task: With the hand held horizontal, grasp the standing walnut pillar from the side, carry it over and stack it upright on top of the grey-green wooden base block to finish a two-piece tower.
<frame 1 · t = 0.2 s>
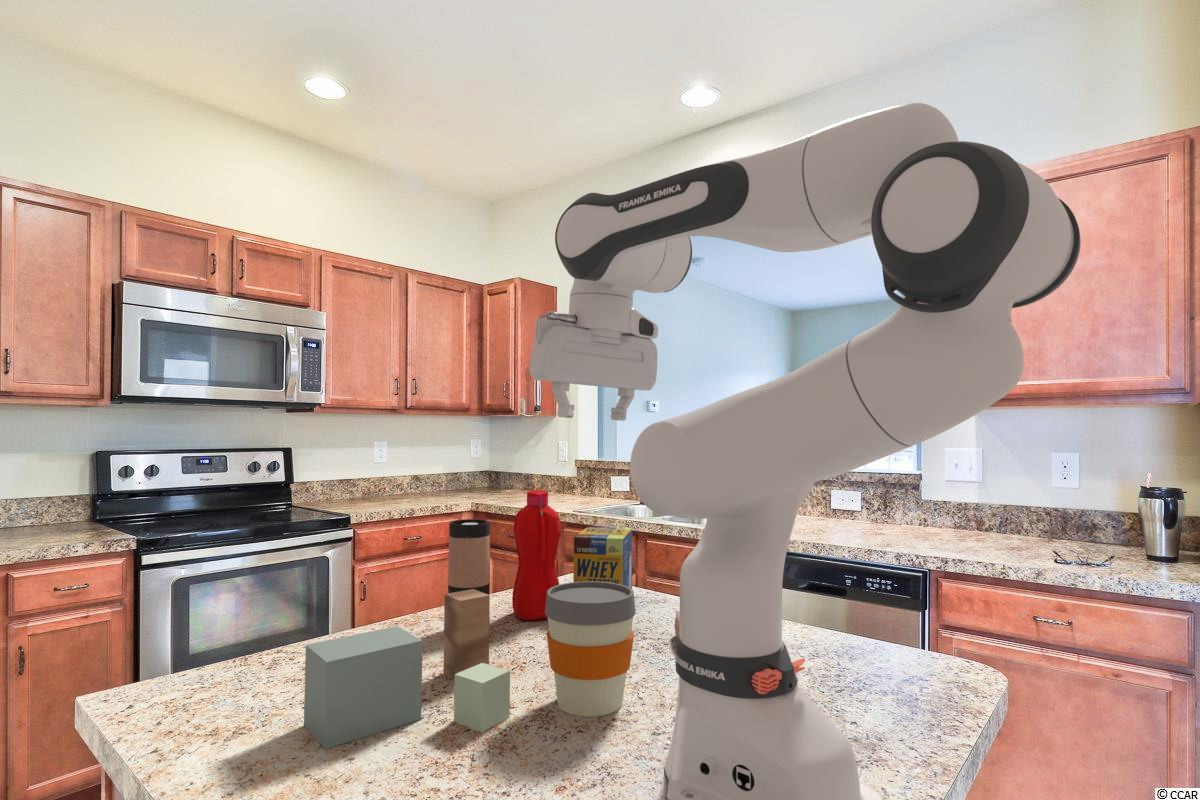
hand: (592, 419, 89), 39 cm above the countertop, fingers open, 8 cm apart
travel mug: (468, 631, 120), on the countertop
pillar: (466, 674, 98), on the countertop
brick: (723, 645, 113), on the countertop
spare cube: (481, 719, 83), on the countertop
water bottle: (537, 617, 129), on the countertop
protein box: (604, 605, 138), on the countertop
reusable coffee cup: (590, 703, 88), on the countertop
base block: (363, 722, 82), on the countertop
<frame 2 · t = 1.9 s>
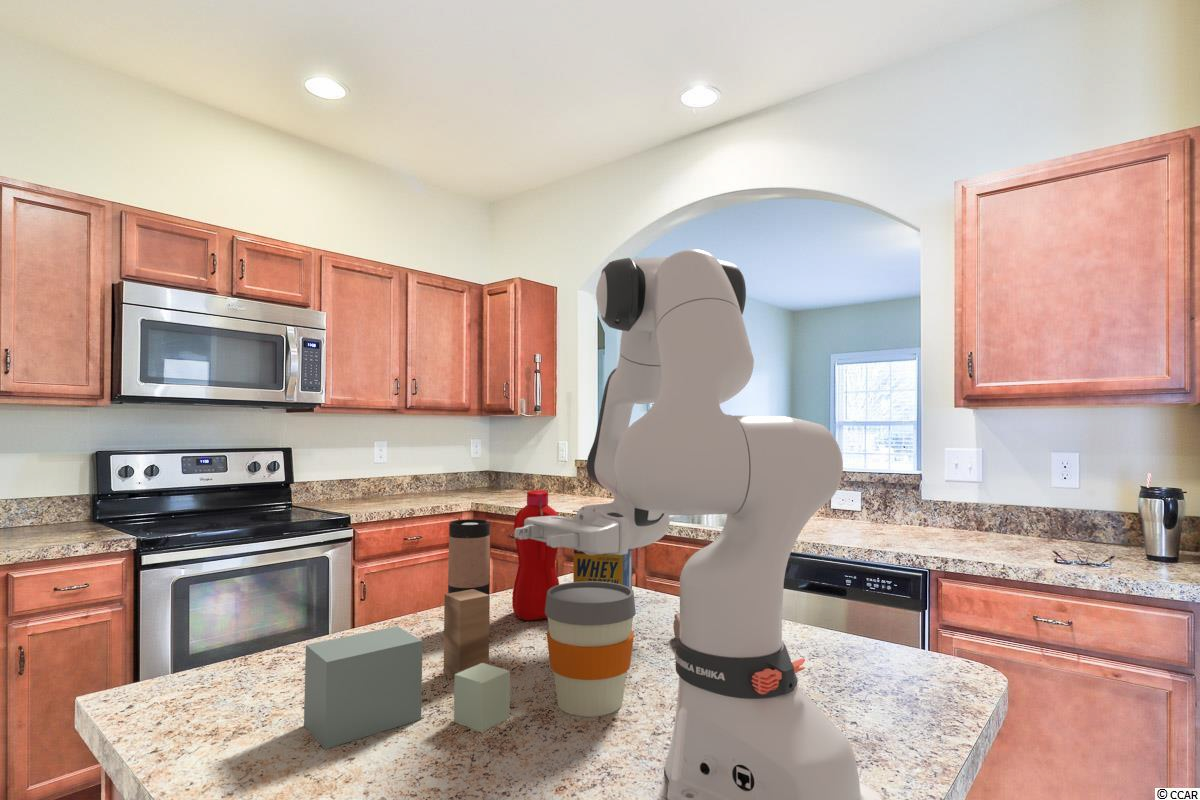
hand: (532, 537, 107), 19 cm above the countertop, fingers open, 8 cm apart
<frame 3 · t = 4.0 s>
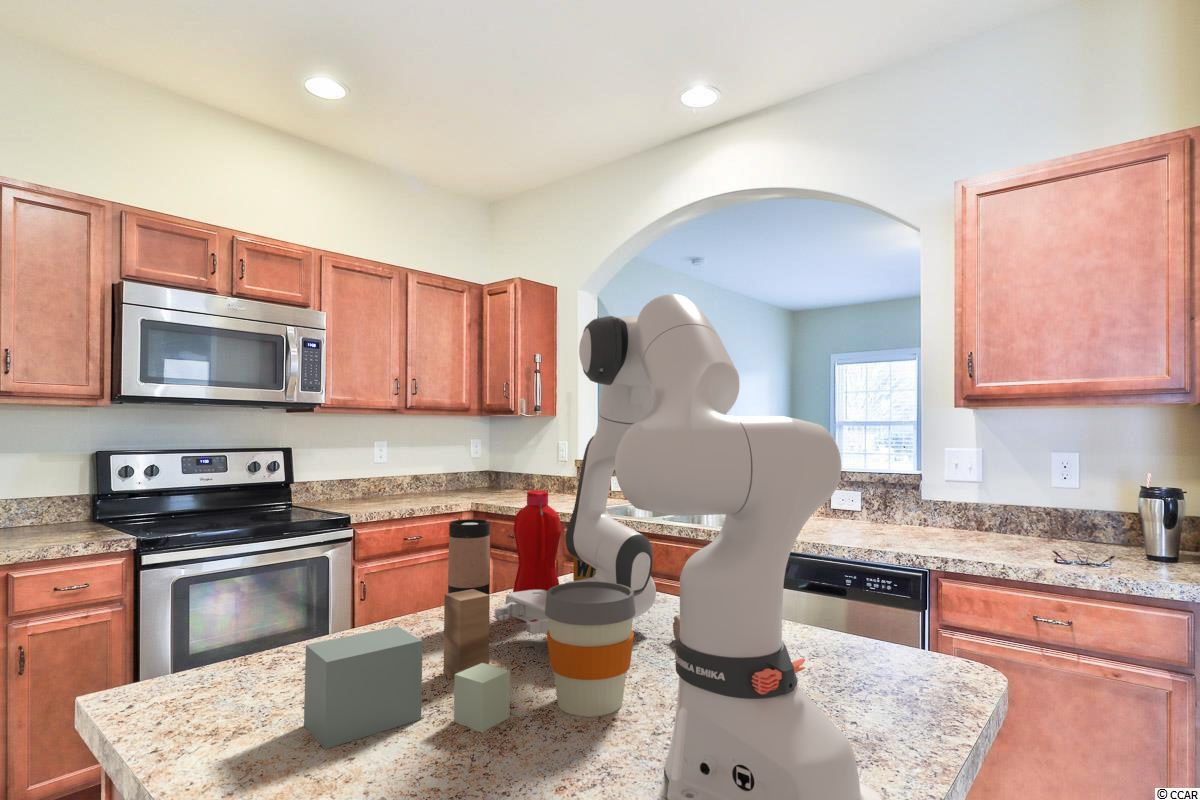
hand: (512, 621, 104), 6 cm above the countertop, fingers open, 8 cm apart
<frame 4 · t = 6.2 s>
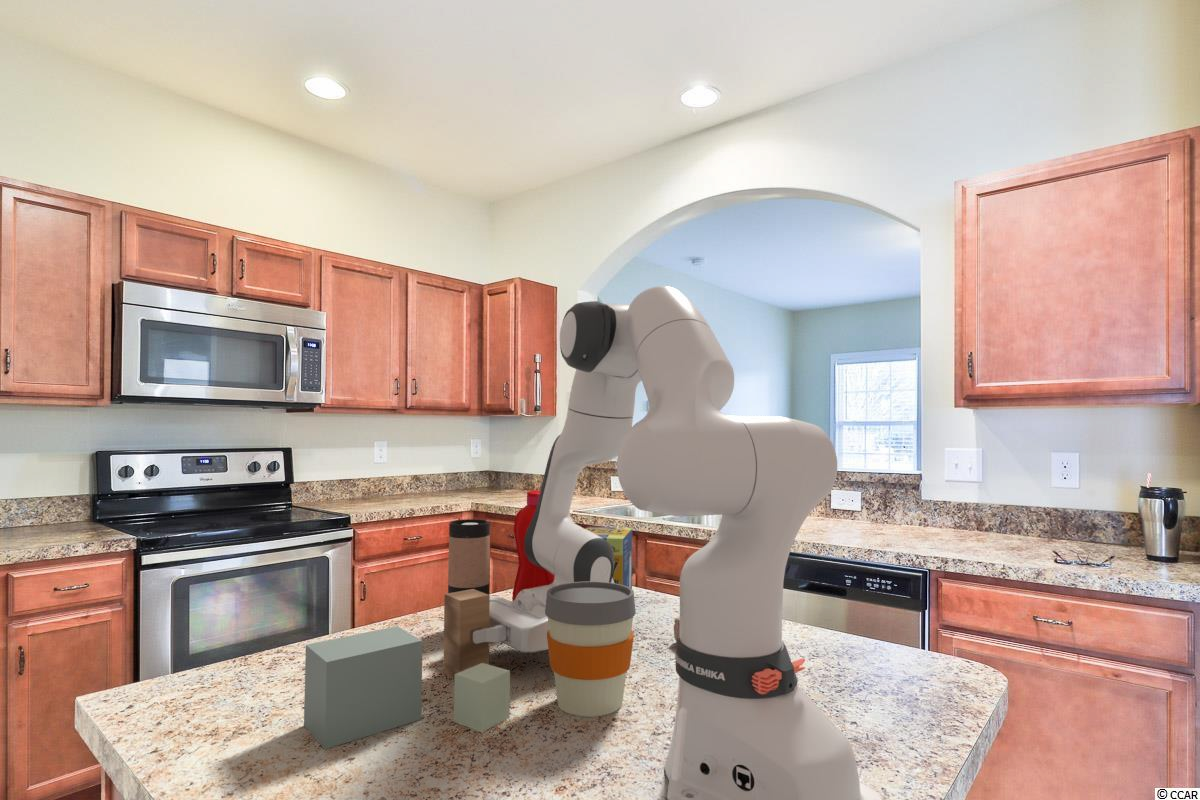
hand: (461, 631, 98), 7 cm above the countertop, fingers closed on pillar, 5 cm apart
pillar: (466, 674, 98), on the countertop, touching gripper
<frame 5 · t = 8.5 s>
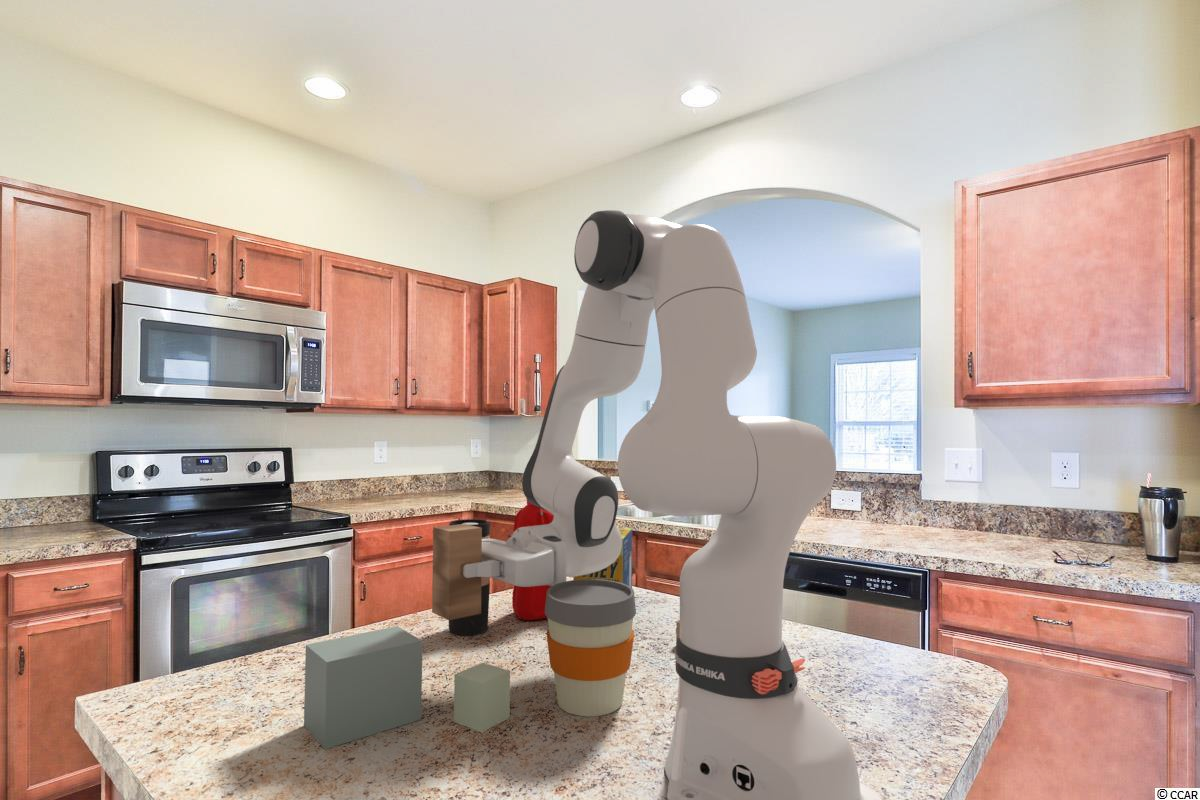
hand: (451, 567, 91), 18 cm above the countertop, fingers closed on pillar, 5 cm apart
pillar: (456, 613, 91), point 11 cm above the countertop, touching gripper
reusable coffee cup: (590, 701, 88), on the countertop, touching arm
when the fingers open (18 cm above the countertop, at t = 11.3 s): pillar drops 1 cm, resting on base block.
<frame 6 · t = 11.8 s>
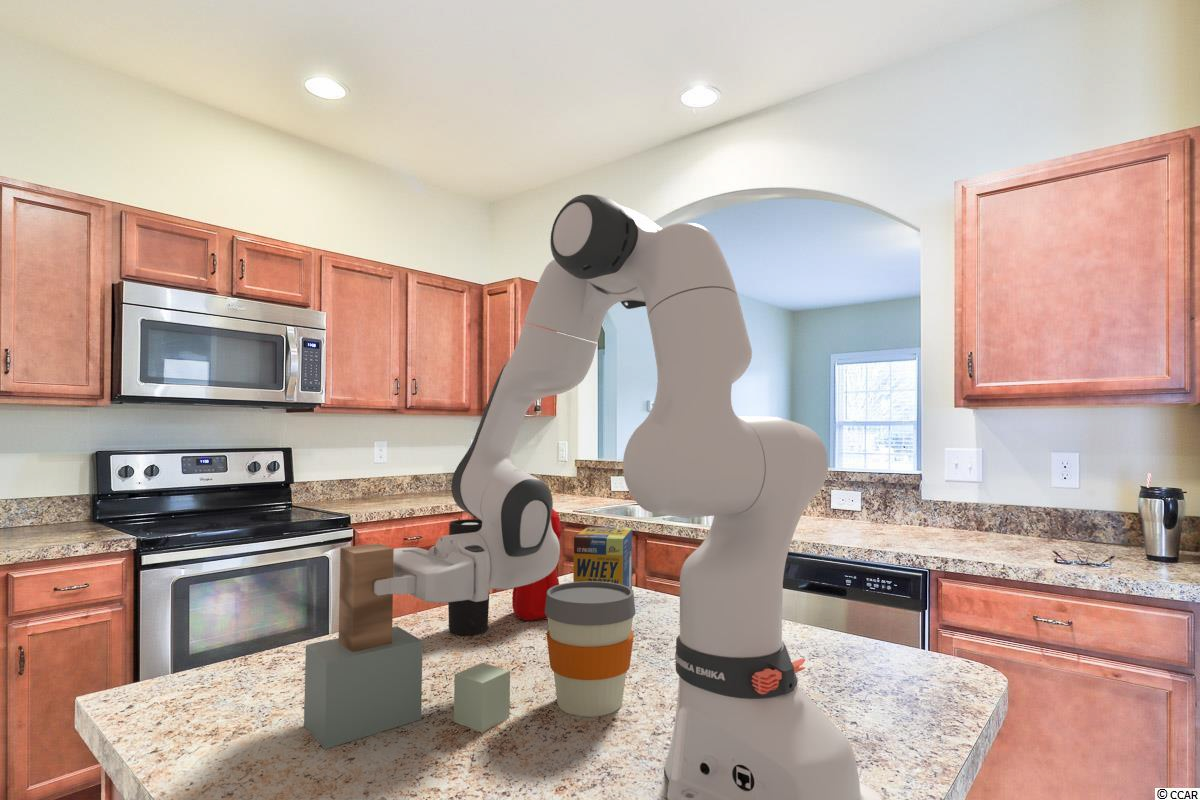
hand: (359, 580, 82), 18 cm above the countertop, fingers open, 8 cm apart
pillar: (365, 642, 82), point 10 cm above the countertop, touching base block
reusable coffee cup: (589, 703, 88), on the countertop
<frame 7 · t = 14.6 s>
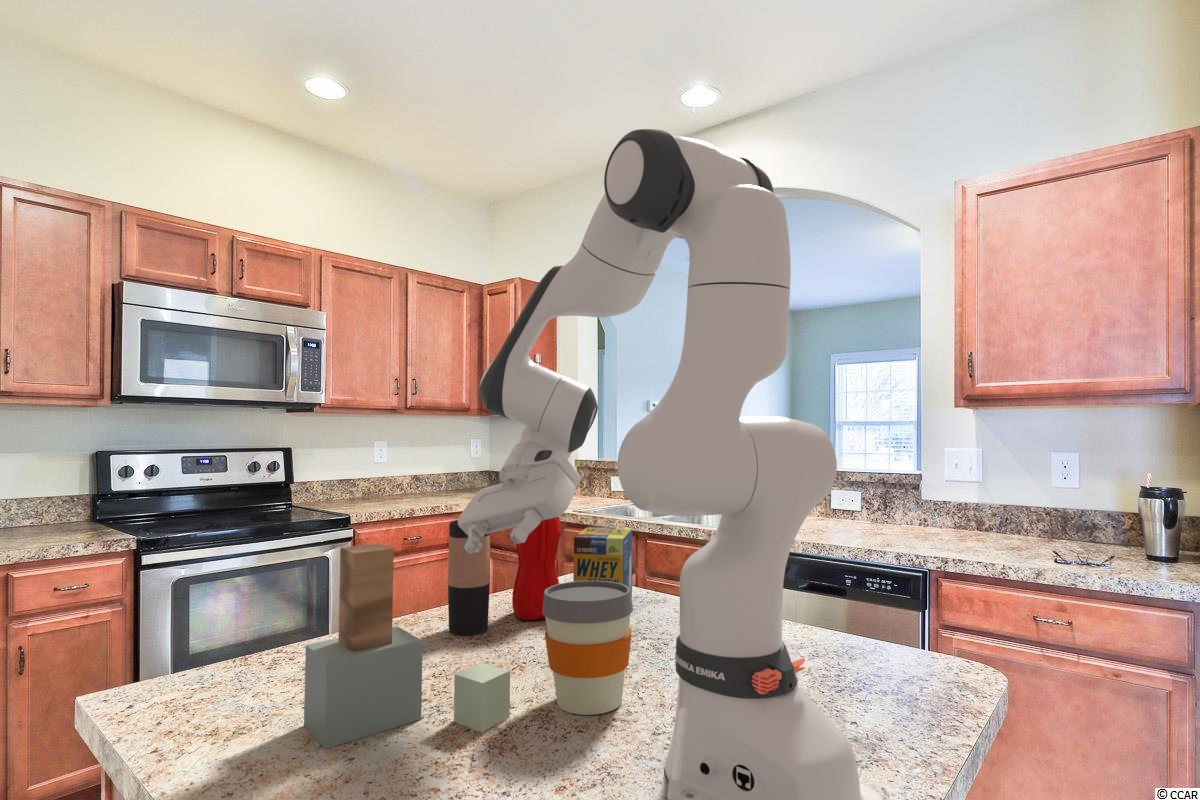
hand: (492, 546, 91), 21 cm above the countertop, fingers open, 8 cm apart
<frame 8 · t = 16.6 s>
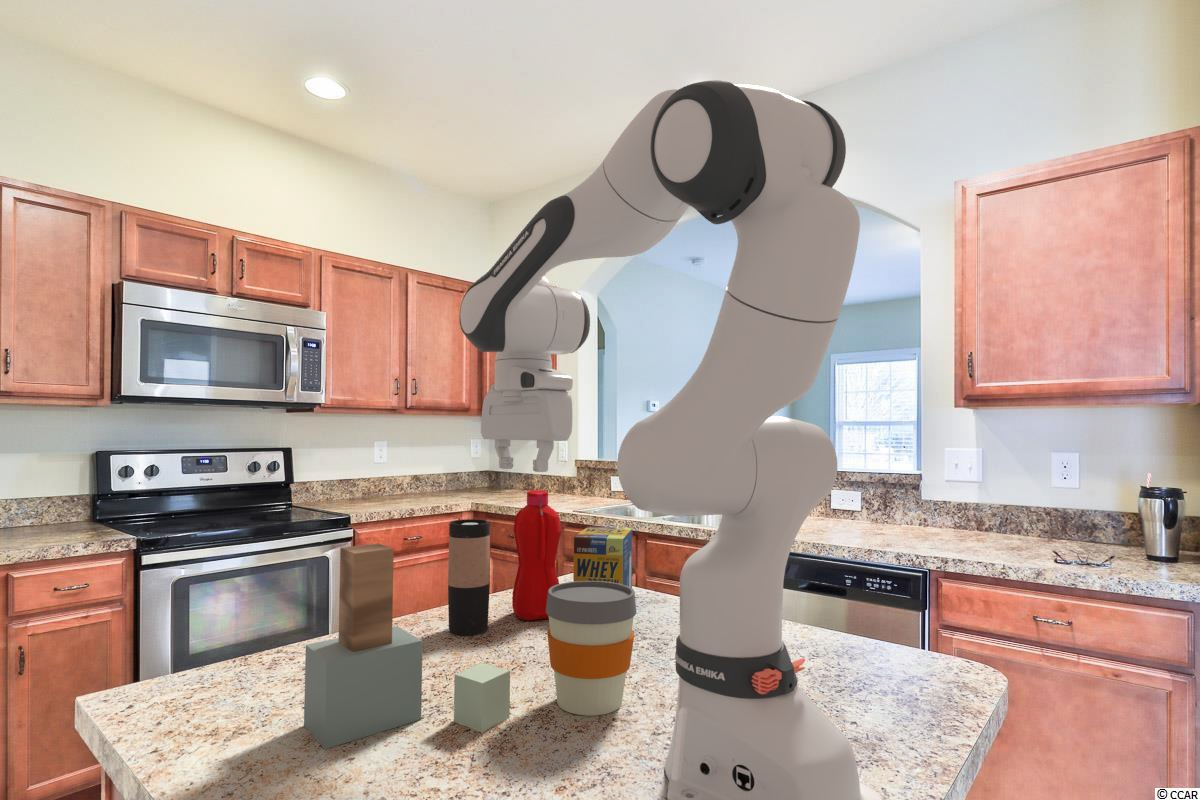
hand: (522, 470, 99), 31 cm above the countertop, fingers open, 8 cm apart
at the end: pillar inside the target area on the base block (0.1 cm from its centre), point 10.0 cm above the base block's base; pillar tilted 0°; the gripper is holding nothing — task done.
